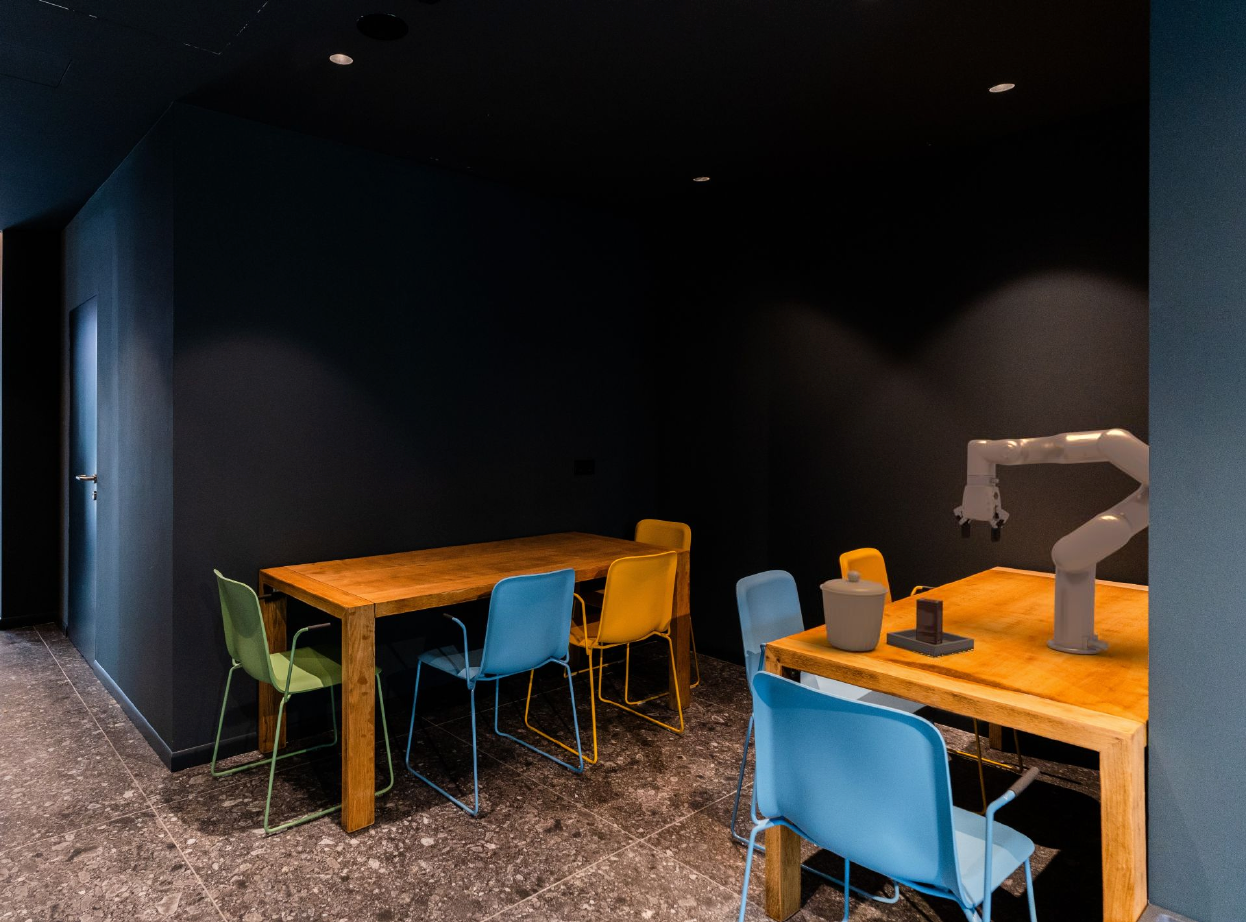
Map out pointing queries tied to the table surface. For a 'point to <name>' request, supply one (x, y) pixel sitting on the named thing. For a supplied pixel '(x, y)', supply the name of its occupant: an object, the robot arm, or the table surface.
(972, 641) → the tray
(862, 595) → the canister
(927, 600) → the box
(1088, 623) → the robot arm
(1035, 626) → the table surface
